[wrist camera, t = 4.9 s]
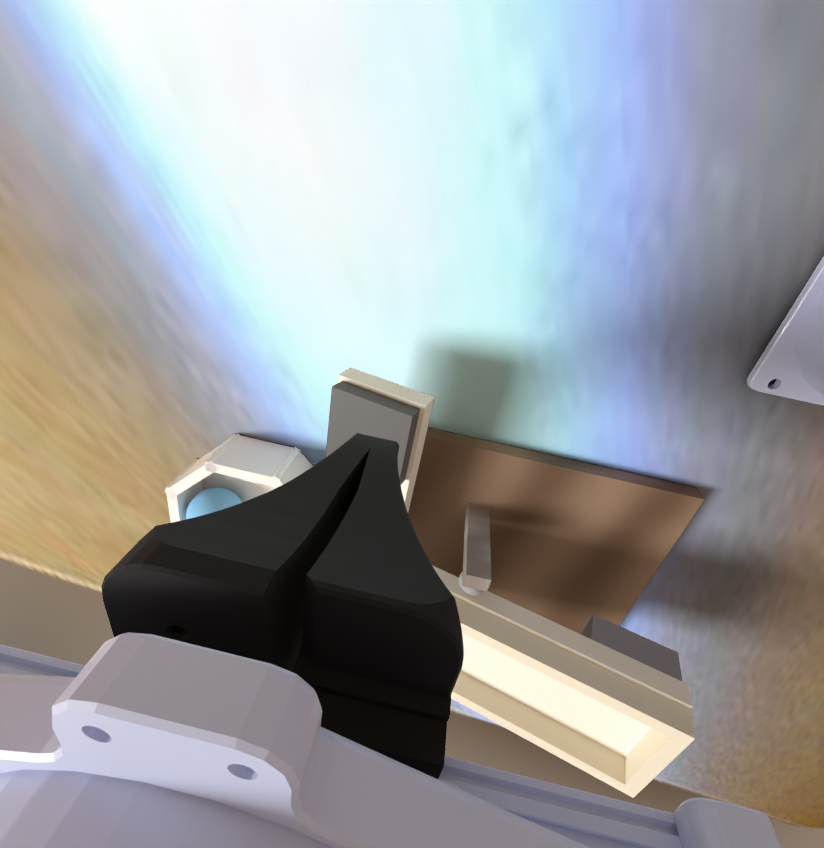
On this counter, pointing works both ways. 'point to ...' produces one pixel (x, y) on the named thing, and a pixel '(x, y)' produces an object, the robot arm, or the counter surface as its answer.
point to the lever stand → (544, 526)
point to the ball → (211, 501)
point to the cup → (236, 471)
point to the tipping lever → (538, 638)
